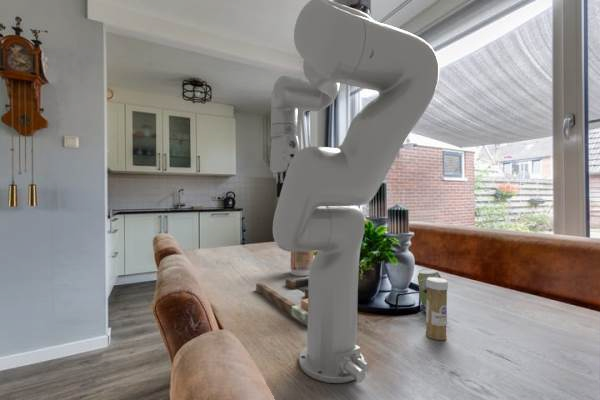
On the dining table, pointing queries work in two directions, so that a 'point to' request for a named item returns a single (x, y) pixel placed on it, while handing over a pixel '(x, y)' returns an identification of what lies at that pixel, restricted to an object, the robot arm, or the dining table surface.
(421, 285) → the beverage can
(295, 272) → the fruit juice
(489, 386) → the dining table surface
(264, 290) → the trap lane
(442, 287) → the sprinkles bottle
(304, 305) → the block
